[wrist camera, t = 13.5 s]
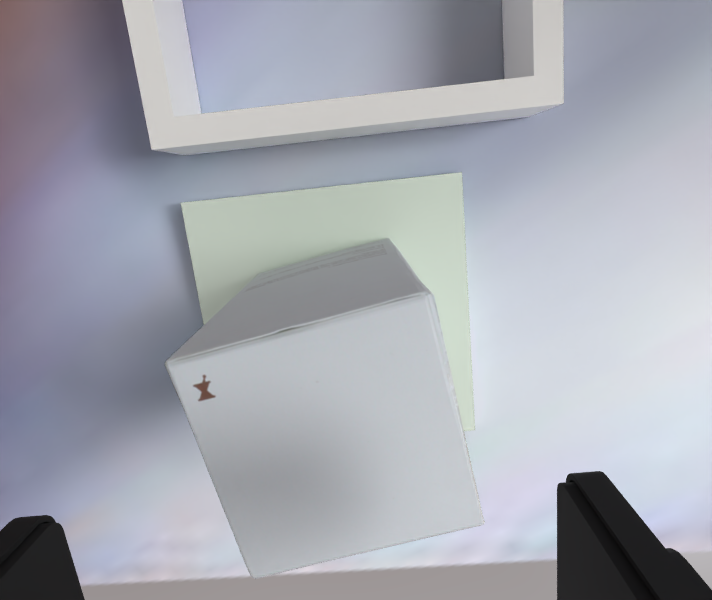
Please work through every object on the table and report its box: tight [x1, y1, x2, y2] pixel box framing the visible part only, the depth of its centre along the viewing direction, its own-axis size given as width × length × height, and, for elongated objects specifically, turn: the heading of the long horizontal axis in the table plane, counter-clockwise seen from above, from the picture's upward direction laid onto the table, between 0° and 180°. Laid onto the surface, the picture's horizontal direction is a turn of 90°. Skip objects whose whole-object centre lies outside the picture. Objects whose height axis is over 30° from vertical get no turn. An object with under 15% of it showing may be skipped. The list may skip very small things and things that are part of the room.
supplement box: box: [165, 238, 485, 579], centre depth 19 cm, size 7×7×13 cm
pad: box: [181, 172, 475, 431], centre depth 26 cm, size 14×14×1 cm
